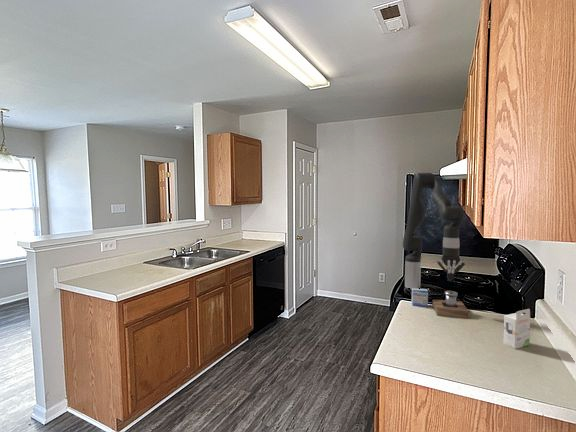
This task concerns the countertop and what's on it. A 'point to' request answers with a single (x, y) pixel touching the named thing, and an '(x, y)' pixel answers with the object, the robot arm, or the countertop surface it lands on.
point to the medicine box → (419, 297)
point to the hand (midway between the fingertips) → (450, 280)
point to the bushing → (450, 298)
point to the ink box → (517, 329)
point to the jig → (450, 309)
